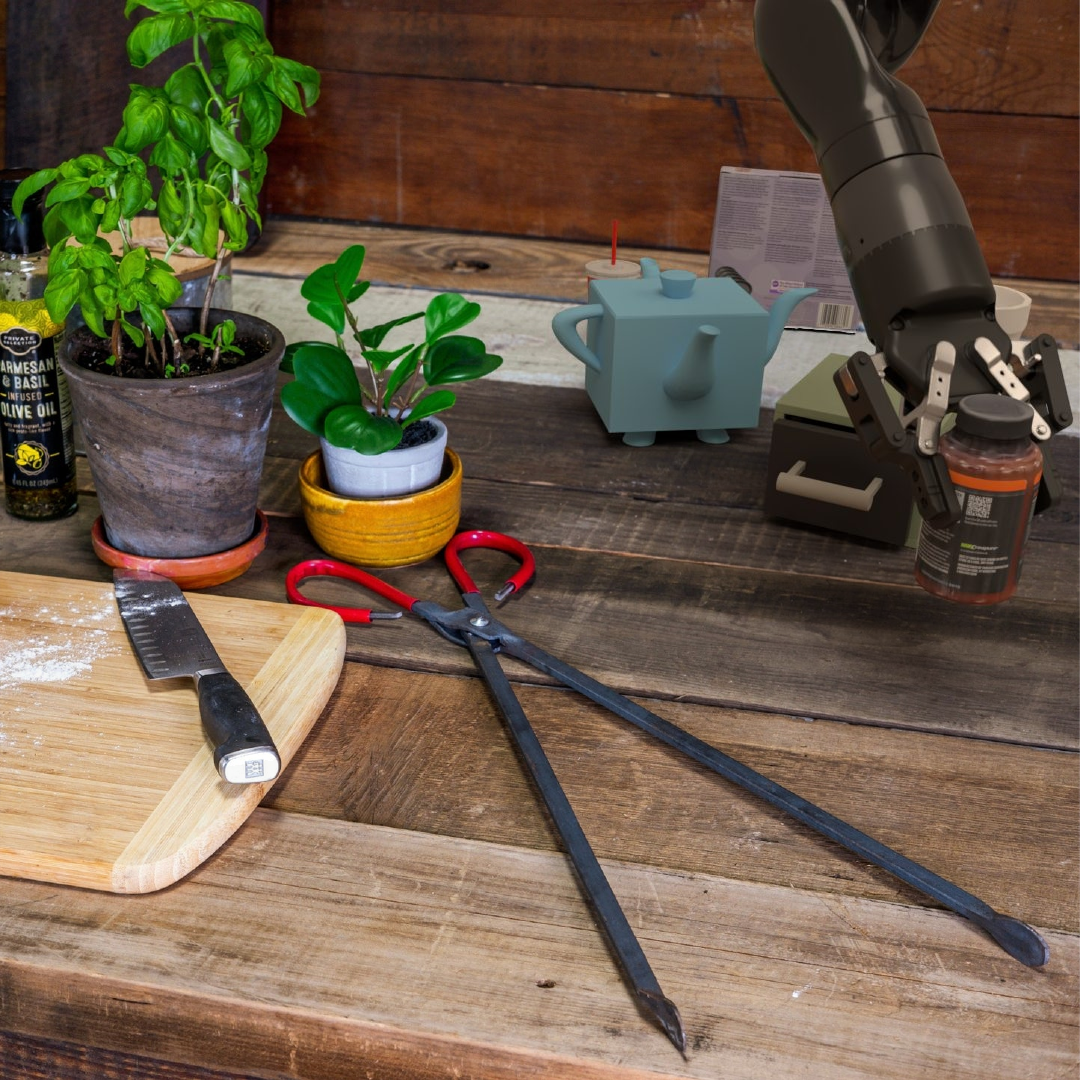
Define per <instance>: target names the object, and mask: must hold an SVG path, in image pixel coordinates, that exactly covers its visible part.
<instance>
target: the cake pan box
mask: <svg viewBox="0 0 1080 1080" xmlns="http://www.w3.org/2000/svg"><path fill="white" fill-rule="evenodd" d="M720 277H731V278H732V280H734V281H735V282H736V283H737V284H738V285H739V286H740V287H741V288H743V289H744V290H745V291H746V292H747V293H748V294H749V295H750V296H751V297H752V298H753V299H754V300H755V301H756V302H758V303H759V304H760V305H761V306H762V307H763V308H764V309H765V310H766V311H767V312H769V310H770V308H771V306H772V305H773V303H774V302H775V300H776V299H777V298H778V297H779V296H780V295H781V294H783V293H784V292H785V291H788V290H791V289H797V288H815V289H819V291H818V292H816V293H815V294H813V295H811V296H809V297H807V298H805V299H804V300H802V301H801V302H800V303H799V304H798V305H797V306H796V307H795V308H794V310H793V311H792V313H791V314H790V316H789V318H788V320H787V322H786V325H785V326H808V327H817V328H830V329H832V328H834V329H857V330H858V328H857V327H859V322H860V317H861V315H860V312H859V309H858V306H857V303H856V299H855V296H854V293H853V290H852V287H851V284H850V281H849V277H848V274H847V271H846V268H845V264H844V261H843V258H842V255H841V252H840V249H839V245H838V241H837V236H836V230H835V223H834V217H833V213H832V209H831V206H830V203H829V200H828V197H827V193H826V190H825V187H824V184H823V181H822V178H821V175H820V173H811V172H803V171H802V172H800V171H792V170H791V171H790V170H789V171H788V170H776V169H762V168H761V169H760V168H750V167H749V168H748V167H737V166H727V165H726V166H725V165H723V166H721V167H720V172H719V179H718V188H717V197H716V205H715V212H714V219H713V225H712V231H711V238H710V246H709V259H708V269H707V278H720Z"/></svg>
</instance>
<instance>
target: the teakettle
mask: <svg viewBox="0 0 1080 1080" xmlns="http://www.w3.org/2000/svg"><path fill="white" fill-rule="evenodd" d="M639 266H641V278H638V279H605V280H590V282H589V297H588V296H587V304H584V305H578V306H573V307H569V308H565V309H563V310H561V311H559V312H557V313H556V314H555V315H554V316H553V318H552V320H551V330H552V332H553V334H554V336H555V338H556V340H557V341H558V343H559V344H560V345H561V346H562V347H563V348H564V349H565V350H566V351H567V352H568V353H569V354H570V355H572V356H573V357H574V358H575V359H577V360H578V361H579V362H581V363H582V364H584V365H585V367H584V389H585V391H586V393H587V395H588V397H589V398H590V400H591V401H592V403H593V406H594V407H595V410H596V411H597V413H598V415H599V416H600V418H601V420H602V422H603V424H604V426H605V427H606V429H607V431H608V433H624V435H623V437H622V442H623V443H625V444H627V445H628V446H632V447H648V446H651V445H653V444H654V443H655V440H656V434H657V432H665V431H688V430H689V431H691V430H693V431H694V430H695V431H696V436H697V438H698V440H699V441H702V442H704V443H707V444H723V443H727V442H729V440H730V436H729V435H728V432H727V431H726V429H745V428H747V429H748V428H758V427H759V419H760V412H761V402H762V393H763V385H764V384H763V383H764V374H765V368H766V366H767V365H768V364H769V363H770V362H771V360H772V359H773V357H774V355H775V353H776V351H777V349H778V347H779V344H780V341H781V339H782V336H783V333H784V330H785V329H784V327H785V325H786V322H787V320H788V318H789V316H790V314H791V313H792V311H793V310H794V308H795V307H796V306H797V305H798V304H799V303H800V302H801V301H802V300H804V299H805V298H807V297H809V296H811V295H813V294H815V293H816V292H818V291H819V289H815V288H797V289H791V290H788V291H785V292H784V293H783V294H781V295H780V296H779V297H778V298H777V299H776V300H775V302H774V303H773V305H772V306H771V308H770V310H769V312H767V311H766V310H765V309H764V308H763V307H762V306H761V305H760V304H759V303H758V302H756V301H755V300H754V299H753V298H752V297H751V296H750V295H749V294H748V293H747V292H746V291H745V290H744V289H743V288H741V287H740V286H739V285H738V284H737V283H736V282H735V281H734V280H732V278H731V277H720V278H708V277H698V275H697V274H696V273H694V272H692V271H689V270H685V269H667V270H664V271H661V269H660V266H659V264H658V262H657V261H656V260H655V259H654V258H651V257H645V256H644V257H641V258H640V260H639ZM586 320H587V321H586ZM583 321H586V322H587V324H586V343H585V342H584V341H583V339H582V338H581V336H580V334H579V332H578V330H577V326H578V324H579V323H580V322H583Z"/></svg>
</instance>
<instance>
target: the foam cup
mask: <svg viewBox="0 0 1080 1080" xmlns="http://www.w3.org/2000/svg"><path fill="white" fill-rule="evenodd" d="M993 286H994V289H995V292H996V306H995V316H996V320H997V322H998V324H999V325H1000V326H1001V328H1002V329H1003V330H1004V331H1005V332H1006V333H1007V334H1008V336H1009V337H1010V339H1011V340H1021V336H1022V333H1023V331H1025V329H1026V327H1027V325H1028V321H1029V318H1030V317H1029V316H1030V312H1031V308H1032V307H1031V306H1032V304H1033V303H1032V302H1033V299H1032V298H1031V297H1030V296H1028V295H1027V294H1026V293H1025V292H1023V291H1019V290H1017V289H1014V288H1011V287H1009V286H1003V285H999V284H993ZM1008 368H1009V369H1010V368H1011V365H1010V364H1009V363H1008ZM998 395H1001V394H1000V392H999V394H998Z"/></svg>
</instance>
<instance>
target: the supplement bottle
mask: <svg viewBox="0 0 1080 1080" xmlns="http://www.w3.org/2000/svg"><path fill="white" fill-rule="evenodd" d="M1033 418H1034V410H1033V408H1032V407H1031V406H1030V405H1028V404H1027V403H1025V402H1023V401H1021V400H1018V399H1015V398H1012V397H1008V396H1003V395H1001V394H1000V395H995V394H977V395H970V396H967V397H965V398H963V399H962V400H961V401H960V402H959V406H958V411H957V416H956V419H955V423H956V425H955V426H954V427H953V428H952V429H951V430H950V431H948V432H946V433H944V434H943V435H942V436H940V439H939V448H938V451H937V452H936V453H935V454H936V456H942V455H944V458H945V461H946V464H947V467H948V470H949V473H950V476H951V479H952V483H953V486H954V489H955V492H956V495H957V498H958V501H959V504H960V507H961V510H962V517H961V520H960V521H958V522H957V523H955V524H953V525H952V526H950V527H948V528H946V529H940V530H933V529H932V528H931V527H930V525H929V522H928V521H924V519H923V518H922V520H921V526H920V532H919V538H918V545H917V548H916V551H915V556H914V557H915V558H914V564H913V565H914V566H913V576H914V579H915V581H916V582H917V584H918V585H919V586H920V587H921V588H922V589H924V591H926V592H927V593H929V594H930V595H931V596H933V597H935V598H937V599H939V600H942V601H946V602H951V603H953V604H958V605H963V606H964V605H965V606H970V607H971V606H972V607H982V606H992V605H996V604H1000V603H1003V602H1006V601H1007V600H1009V599H1011V598H1012V597H1013V596H1014V595H1015V593H1016V592H1017V589H1018V586H1019V581H1020V579H1021V576H1022V570H1023V566H1024V561H1025V556H1026V551H1027V547H1028V541H1029V537H1030V532H1031V526H1032V522H1033V517H1034V516H1033V513H1034V508H1035V503H1036V499H1037V494H1038V488H1039V484H1040V478H1041V474H1042V469H1043V456H1042V453H1041V451H1040V449H1039V447H1038V446H1037V445H1036V444H1035V443H1034V442H1032V441H1031V439H1030V437H1029V434H1030V433H1031V432H1032V424H1033Z"/></svg>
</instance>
